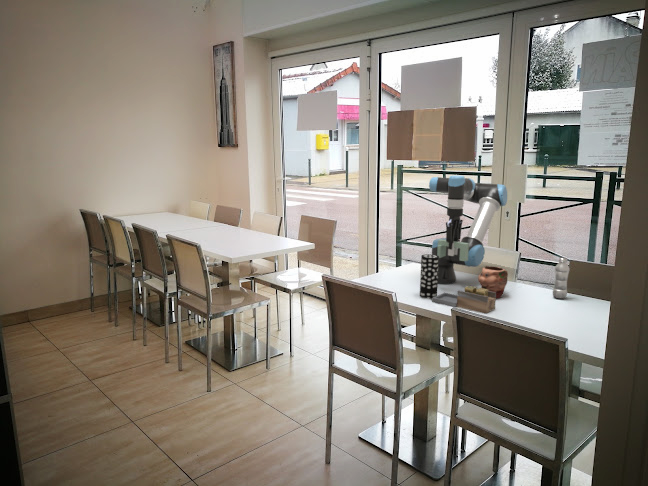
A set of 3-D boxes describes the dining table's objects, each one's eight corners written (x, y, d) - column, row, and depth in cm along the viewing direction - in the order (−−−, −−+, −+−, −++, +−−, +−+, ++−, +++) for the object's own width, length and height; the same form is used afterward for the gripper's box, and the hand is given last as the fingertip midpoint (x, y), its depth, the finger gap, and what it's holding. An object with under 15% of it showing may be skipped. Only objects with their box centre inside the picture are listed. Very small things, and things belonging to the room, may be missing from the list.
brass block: (468, 293, 238) (468, 285, 237) (476, 295, 236) (476, 287, 235) (464, 295, 235) (464, 287, 234) (472, 297, 233) (473, 289, 232)
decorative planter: (493, 288, 264) (495, 262, 262) (515, 294, 255) (517, 267, 253) (470, 296, 252) (472, 268, 249) (492, 302, 243) (495, 273, 240)
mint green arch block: (441, 255, 261) (442, 238, 260) (469, 259, 252) (470, 242, 250) (435, 257, 257) (436, 240, 255) (463, 261, 247) (464, 244, 246)
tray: (444, 296, 251) (444, 292, 251) (467, 301, 243) (467, 297, 243) (432, 301, 242) (432, 297, 242) (455, 307, 235) (455, 303, 234)
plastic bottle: (566, 297, 251) (570, 257, 247) (566, 300, 245) (570, 260, 241) (552, 295, 254) (556, 255, 250) (551, 299, 248) (555, 258, 244)
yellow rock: (479, 296, 235) (480, 287, 234) (487, 298, 232) (488, 289, 231) (475, 298, 232) (476, 289, 231) (484, 300, 229) (484, 291, 228)
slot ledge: (466, 301, 243) (467, 286, 241) (494, 308, 234) (496, 292, 232) (456, 306, 235) (457, 291, 234) (486, 313, 226) (487, 297, 225)
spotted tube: (437, 299, 246) (439, 258, 243) (419, 298, 248) (421, 257, 244) (436, 294, 254) (438, 254, 250) (419, 293, 256) (421, 253, 252)
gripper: (455, 205, 258) (453, 251, 262) (440, 208, 246) (437, 256, 251) (469, 206, 253) (466, 253, 258) (454, 210, 241) (451, 258, 246)
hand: (452, 254), depth 254 cm, fingers closed on mint green arch block, 3 cm apart
